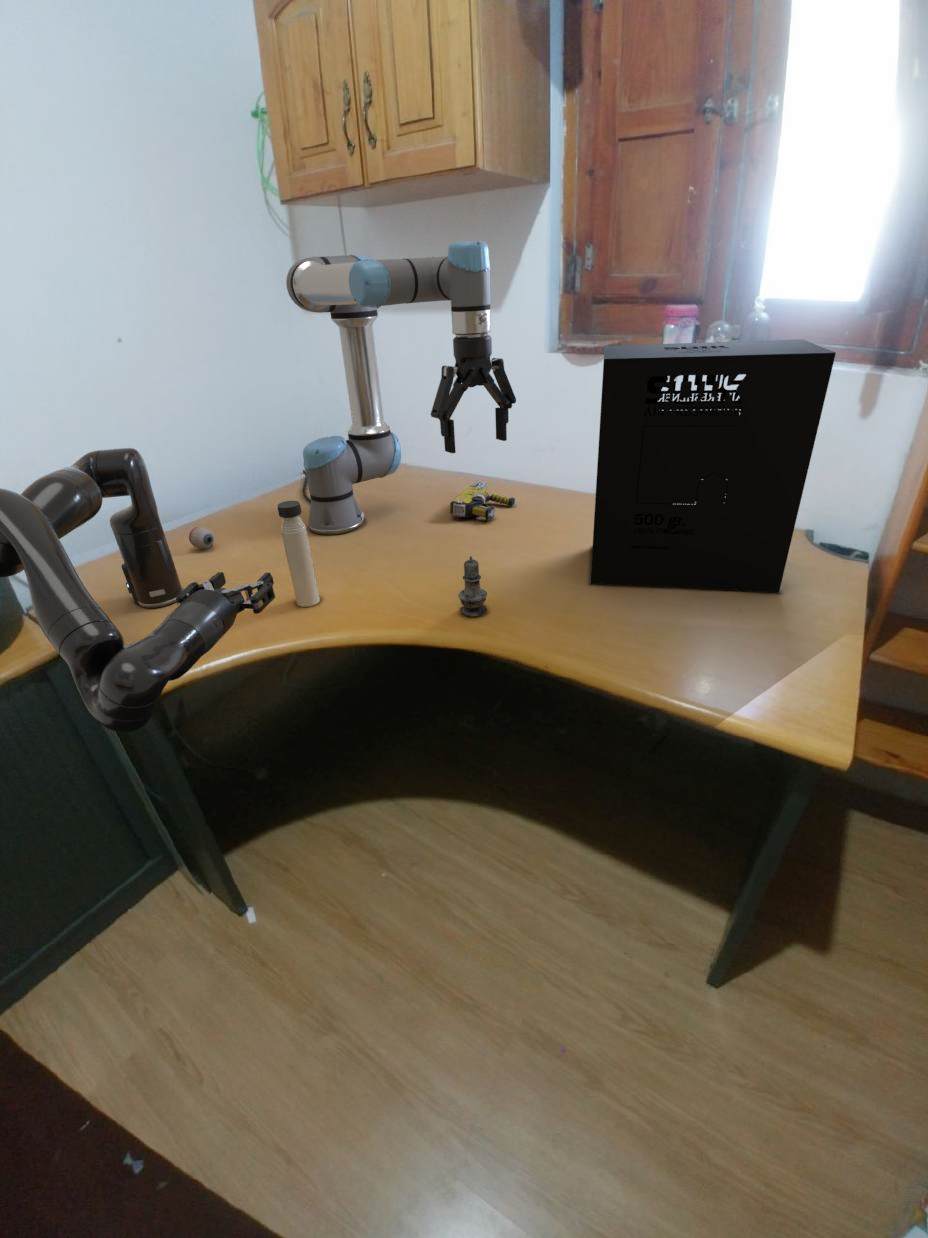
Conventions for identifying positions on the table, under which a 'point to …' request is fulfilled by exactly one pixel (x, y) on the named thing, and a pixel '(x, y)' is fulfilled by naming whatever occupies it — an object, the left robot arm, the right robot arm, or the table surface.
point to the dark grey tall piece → (472, 590)
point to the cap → (289, 509)
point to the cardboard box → (704, 462)
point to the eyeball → (201, 537)
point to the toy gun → (477, 502)
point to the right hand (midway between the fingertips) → (476, 445)
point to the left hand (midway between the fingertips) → (246, 577)
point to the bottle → (300, 561)
